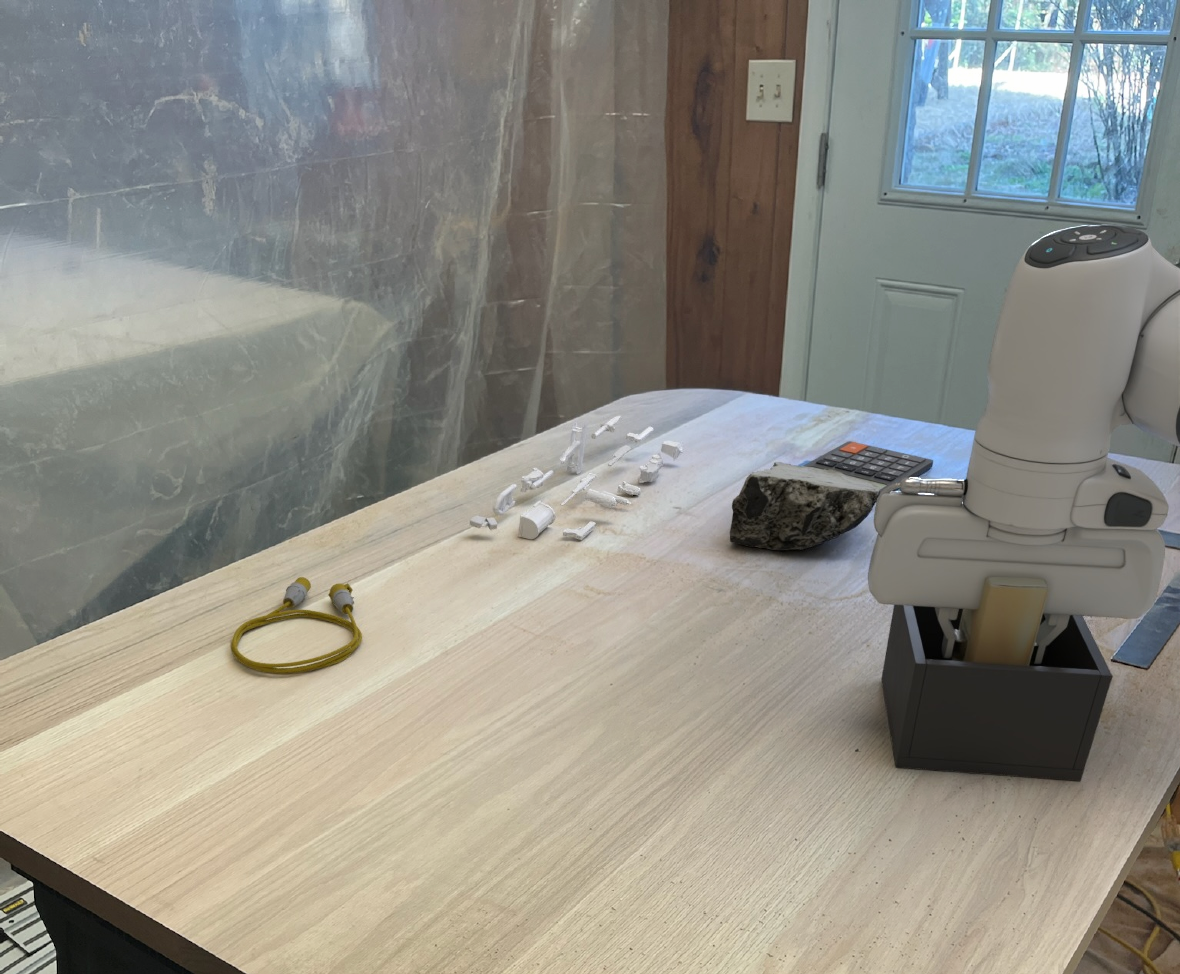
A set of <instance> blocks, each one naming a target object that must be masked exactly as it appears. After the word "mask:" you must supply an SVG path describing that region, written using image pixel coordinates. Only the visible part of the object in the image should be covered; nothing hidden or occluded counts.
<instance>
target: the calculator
mask: <svg viewBox="0 0 1180 974" xmlns="http://www.w3.org/2000/svg"><path fill="white" fill-rule="evenodd" d="M802 466H804V467H810V468H816V469H819V470H823V469H831V470H836V471H840V472H842V473H843V474H844V475H847V476H851V477H853V478H858V479H862V480H866V481H870V482H871V483H873V484H874V485H876V486H877V487H879V488H880V493H881V492H882V491H883V490H884V489H885V488H887V487H888V486H890V485H892V484H896V483H900V482H901V479H903V478H911V477H912V478H918V477H919V476H921V475H922V474H924V473H925V472H927V471H928V470H930V469H932V468H933V466H934V460H933V459H932V458H926V457H922V456H917V455H913V454H909V453H905V452H899V451H895V450H891V449H886V448H882V447H878V446H874V445H869V444H865V443H860V442H856V441H846V442H844V443H842V444H840V445H839V446H837V447H834V448H833V449H831V450H829V451H828V452H826V453H823V454H822V455H820V456H818V457H816V458H815V459H813V460H811V461H809V462H807V463H805V464H803V465H802ZM893 491H898V489H895V490H893ZM880 493H879V495H880Z"/></svg>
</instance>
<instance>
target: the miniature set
mask: <svg viewBox="0 0 1180 974" xmlns="http://www.w3.org/2000/svg"><path fill="white" fill-rule="evenodd" d="M621 417H622V415H615V416H614V417H613V418H611V419H609V420H608V421H607V422H606V423H600V426H599V429H597V430H595V432H593V433H592V434H591V439H593V440H596V439H597V438H598V437H600V436H601V435H602V434H604V433H605V432H610V433H614V432H615V430H616V428H615V426H614V425H615V424H617V423H618V422H619V420H620V418H621ZM587 431H588V422H585V423H584V425H582V427H579V426H578V421H577V420H575V421H574V422H573V423H572V424H571V430H570V439H569V446H568V448H567V449H566V450H565V451H563V453H562V454H561V456H560V457H559V461H560V464H561V465H562V464H565V461H566V460H567V465H566V473H568V472H571V471H572V469H576V473H575V474H576V475H579V474H581V473H582V470H583V464H584V455H585V447H586V439H587ZM654 431H655V430H654V427H652V426H647V427H646V428H645V429H644V430H643V431H641V432H640V433H633V432H628V433H627V434H626V437H625V439H626V440H627V441H632V442H633V444H639V443H641V442H643V441H644V440H645V439H647V437H648V436H649V435H651V434H652V433H653V432H654ZM577 433H580V439H579V440H576V438H577ZM633 448H634V447H633V446H631V445H627V444H624V445H622V446H621V447H620V448H618V449H617V450H616V451H615V452H614V453H613V454H612V457H614V458H613V459H611V461H610V462H609V463H607V466H608V467H612V466H613V465H614V464H616V462H618V461H619V460H620V459H621V458H623V456H625V455H626V454H627V453H629V452H630V451H631V450H633ZM683 450H684V449H683V440H681V441H679V442H678V441H673V440H664V441H663V442H662V443H661V446H660V452H657V454H653V455H652V456H651V459H650V460H649V461H648V462H647V463H646V464H644V465H640V466H639V472H640V476H638V477H637V482H638V483H641V484H644V482H645V483H652V482H654V481H655V480H656V479H657V478H658V477H659V471H660V470H661V469H662V468H663V466H664V457H662V456H661V453H663V454H665V455H667V456H669V457H671V458H673V461H676V460H677V458H679V457H680V456H681V455H682V454H684V451H683ZM577 452H578V458H577V463H575V462H574V456H575V455H574V454H575V453H577ZM554 474H555V472H554V471H553V469H550V470H548V471H547V472H545V473H543V472H542V470H540V469H539V468H538V467H533V468H532V471H531V472H529V473H528V474H527V475H522V476H521V488H520V492H522V493H526V492H527V491H528V490H533V491H534V490H536V489H540V488H541V487H543V484H544V482H546V481H547V480H548V479H550V478H551V477H552V476H554ZM596 478H597V474H595V473H592V472H588V473H587V476H586V477H584V478H581V479H580V480H579V483H578V484H577V486H576V487H575V488H574V489H573V490H572V491H571V495H570V496H568V497H567V498H566V499H565V500H564V501H562V502H561V504H560V507H563V506H565V504H566V503H569V501H570V500H571V499H573V498H574V497H575V496H577V495H578V494H579V493H580V492H582V491H586V489H587V488H589V487H590V486H591V485H592V482H593V481H595V479H596ZM516 488H517V484H516V483H512V484H511V485H509V486H507V487H506V488H505V489H503V491H501V492H500V493H499V494H498V495H497V497H496V499H495V500H494V503H493V506H492V511H493V513H494V514H495V515H496V516H500V517H501V516H502V515H505V514H506V512H508V511H509V510H510V509H512V508H513V507H514V506H515V505H516V500H513V499H514V490H516ZM620 492H621V493H622V492H623V493H625V494H627V495H629V496H633V495H639V496H640V495H641V493H642V490H641V488H640V487H638V486H637V485H633V484H631V483H628V482H627V481H626V480H623V481H622V484H619V485H618V486H617V493H620ZM585 500H586V501H589V502H591V503H594V504H597V505H599V506H603V507H606V508H609V509H612V508H614V507H616V506H618V504H621V505H624V506H627V505H629V506H631V505H632V501H630V500H629V499H627V498H625V497H622V496H619V495H616V494H614V493H610V492H608V491H605V490H602V491H598V490H594V489H592V488H589V489H588V490H587V491H586V494H585ZM555 520H556V513H555V510H554V508H552V507H551V506H550V505H549V504H547V503H544V502H542V500H537V501H536V503H534V504H533V505H532V506H531V507H530V508H529V509H528V510H526V511H524V512H523V513H522V514H521V515H520V516H519V524H518V525H519V526H518V537H519V538H524V539H527V540H535V539H536V538H537V537H538V536H539V535H540V534H541V533H542V532H543V531H544V530H545V529H546V528H548V527H549V526H551V525H552V524H553V523H554V522H555ZM469 526H471V527H474V528H477V529H481V528H488V529H489V530H490V531H492V530H497V529H498V522H497V521H496V519H495V517H484V516H481V515H478V514H475V515H474V516H473V517H471V519H469ZM596 526H597V523H596V522H595V521H589V522H588V523H587V524H586V525H585V526H581V527H580V526H579V527H577V528H576V529H575V528H568V527H566V528H564V530H563V531H562V537H566V538H575V539H576V540H580V541H582V540H583V539H584V538H585V537H586V536H587V535H588V534H590V533H591V532H592V531H593V530H594V529H595V528H597V527H596Z"/></svg>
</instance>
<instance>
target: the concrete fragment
mask: <svg viewBox="0 0 1180 974" xmlns="http://www.w3.org/2000/svg"><path fill="white" fill-rule="evenodd" d="M879 493H880V488H879V487H877V486H876V485H874V484H873V483H871V482H870V481H866V480H862V479H858V478H853V477H851V476H847V475H844V474H843V473H842V472H840V471H836V470H831V469H823V470H819V469H816V468H810V467H804V466H803V465H795V464H791V463H786V462H785V463H784V462H782V461H776V462H774V463H773V465H772V466H771V467H770V469H768V468H767V469H763V470H757V471H754V472H751V473H749V474H748V476H747V477H746V479H745V481H744V483H743V485H742V487H741V489H740V492H739V494H738V495H737V496H735V497H734V498H733V500H732V503H731V509H732V516H731V523H730V530H729V541H730V543H732V544H736V545H740V546H745V547H749V548H750V547H751V548H758V549H764V548H765V549H768V550H772V551H791V550H800V551H802V550H805V549H808V548H811V547H814V546H818V545H821V544H824V543H826V542H829V541H831V540H833V539H835V538H838V537H839V536H841V535H843V534H845V533H848V532H850V531H853V530H854V529H855V528H856V527H859V525H860V524H862V523H863V522H864V520H865V519H866V518H868V516H869V515H870V513H871V512H872V510H873V508H874V506H875V505H876V502H877V499H878V497H879Z"/></svg>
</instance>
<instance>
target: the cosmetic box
mask: <svg viewBox="0 0 1180 974" xmlns="http://www.w3.org/2000/svg"><path fill="white" fill-rule="evenodd" d="M1049 589H1050V587H1049V585H1048V584H1047V582H1046V581H1045V580H1043V579H1036V578H1017V577H988V578H987V577H986V579H985V583H984V588H983V593H982V597H981V602H980V606H979V609H978V610H976V609H963V612H962V617H961V621H960V626H959V630H964V632H965V636H966V637H967V646H966V649H965V650H964V653H965V655H964V658H963V659H952V661H963V662H979V663H994V664H1010V665H1025V666H1029V664H1030V660H1031V656H1032V652H1033V649H1034V645H1035V641H1036V637H1037V634H1038V630H1039V626H1040V622H1041V619H1042V615H1043V611H1044V607H1045V604H1046V600H1047V596H1048V593H1049Z"/></svg>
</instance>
